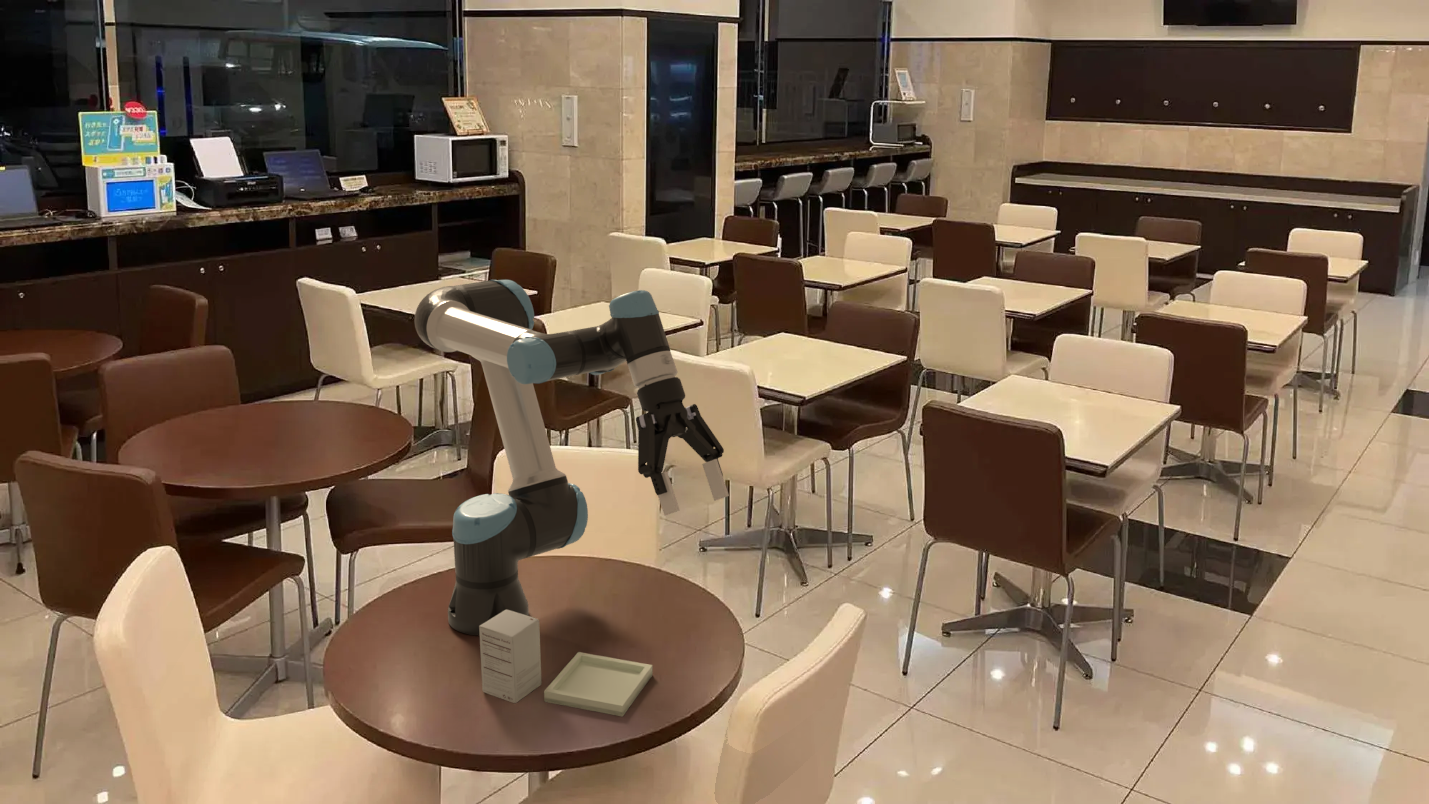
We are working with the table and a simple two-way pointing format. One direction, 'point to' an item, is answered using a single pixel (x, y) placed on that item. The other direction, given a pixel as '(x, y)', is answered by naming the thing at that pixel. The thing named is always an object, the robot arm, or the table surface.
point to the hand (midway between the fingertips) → (697, 505)
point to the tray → (598, 684)
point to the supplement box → (510, 655)
